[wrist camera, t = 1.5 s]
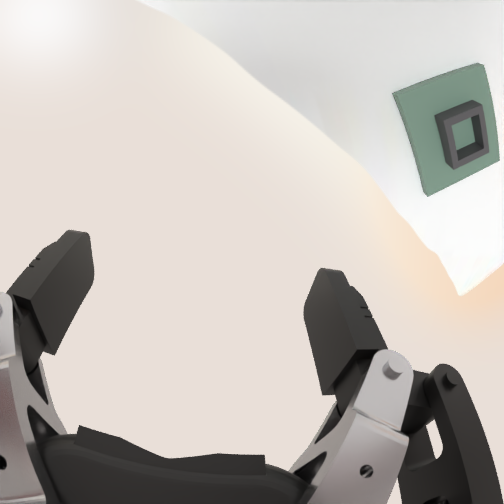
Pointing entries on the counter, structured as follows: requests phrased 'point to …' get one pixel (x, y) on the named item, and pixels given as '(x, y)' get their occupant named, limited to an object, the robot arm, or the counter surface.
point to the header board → (450, 126)
